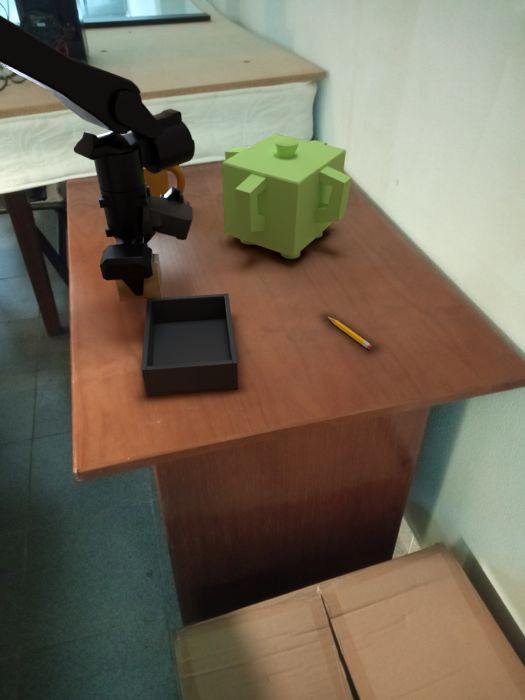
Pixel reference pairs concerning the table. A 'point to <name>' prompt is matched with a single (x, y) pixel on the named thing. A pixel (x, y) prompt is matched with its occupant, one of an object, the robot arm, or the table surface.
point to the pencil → (351, 333)
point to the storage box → (283, 192)
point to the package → (150, 285)
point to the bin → (189, 345)
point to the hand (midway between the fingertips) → (140, 285)
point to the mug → (164, 180)
